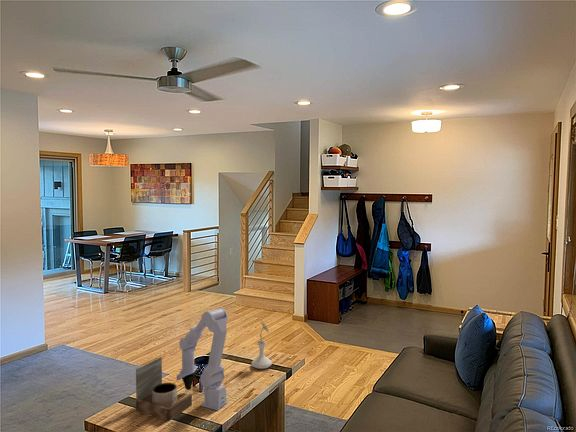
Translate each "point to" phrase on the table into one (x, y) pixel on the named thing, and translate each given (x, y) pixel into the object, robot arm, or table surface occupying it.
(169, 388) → the planter
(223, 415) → the table surface
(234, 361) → the table surface
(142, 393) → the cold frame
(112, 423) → the table surface
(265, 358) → the flower in vase
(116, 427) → the table surface
